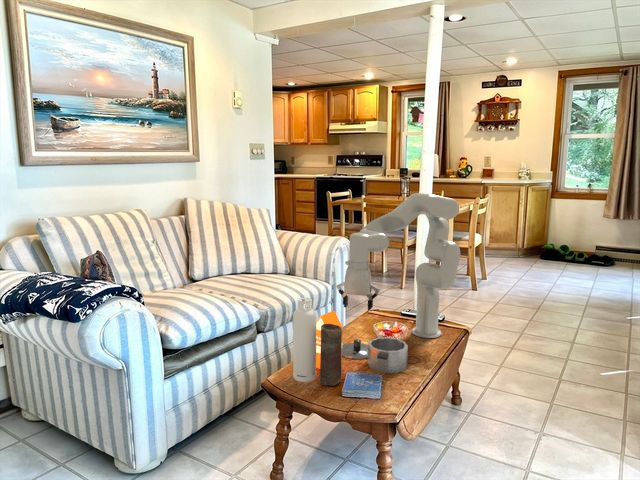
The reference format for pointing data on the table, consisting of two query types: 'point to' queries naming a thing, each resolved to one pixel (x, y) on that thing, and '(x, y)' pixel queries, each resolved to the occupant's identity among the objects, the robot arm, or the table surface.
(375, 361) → the pot
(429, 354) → the table surface
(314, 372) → the bottle
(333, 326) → the candle
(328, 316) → the orange juice
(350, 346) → the lid
